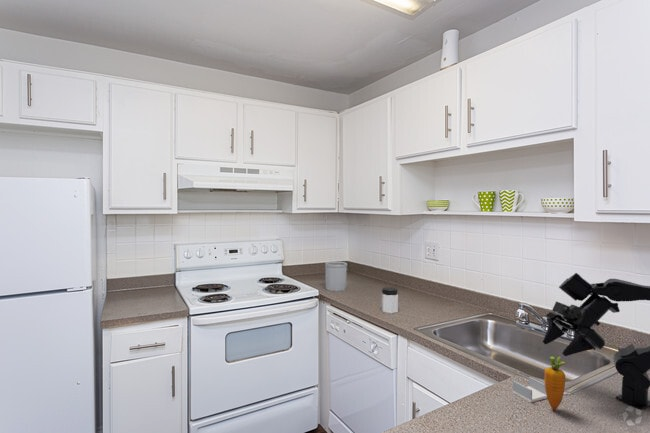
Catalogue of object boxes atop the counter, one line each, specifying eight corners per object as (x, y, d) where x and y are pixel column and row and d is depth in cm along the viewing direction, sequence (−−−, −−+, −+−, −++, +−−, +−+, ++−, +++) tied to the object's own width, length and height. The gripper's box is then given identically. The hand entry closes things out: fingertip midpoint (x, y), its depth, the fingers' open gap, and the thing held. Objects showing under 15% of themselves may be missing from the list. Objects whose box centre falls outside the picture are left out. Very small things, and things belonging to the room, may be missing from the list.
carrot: (556, 404, 103) (558, 352, 103) (568, 414, 98) (570, 359, 98) (539, 405, 103) (540, 352, 102) (550, 415, 98) (552, 359, 97)
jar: (380, 308, 199) (380, 286, 199) (395, 308, 200) (395, 286, 199) (383, 313, 190) (383, 290, 190) (399, 313, 191) (399, 290, 190)
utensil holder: (349, 290, 242) (350, 264, 241) (328, 291, 237) (328, 265, 237) (342, 286, 256) (343, 261, 255) (322, 287, 252) (322, 261, 251)
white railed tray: (530, 388, 112) (530, 377, 112) (548, 397, 107) (548, 386, 107) (512, 392, 110) (512, 381, 109) (530, 402, 104) (530, 390, 104)
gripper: (551, 286, 119) (517, 320, 119) (594, 301, 100) (554, 341, 100) (575, 310, 119) (541, 344, 119) (622, 329, 100) (582, 369, 100)
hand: (553, 348), depth 110 cm, fingers open, 9 cm apart
